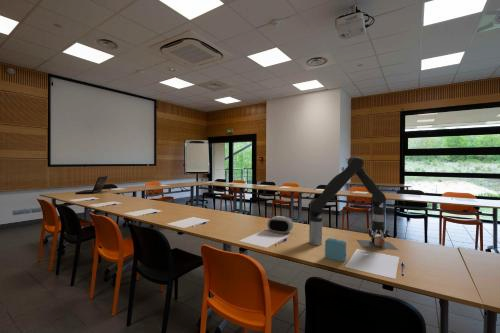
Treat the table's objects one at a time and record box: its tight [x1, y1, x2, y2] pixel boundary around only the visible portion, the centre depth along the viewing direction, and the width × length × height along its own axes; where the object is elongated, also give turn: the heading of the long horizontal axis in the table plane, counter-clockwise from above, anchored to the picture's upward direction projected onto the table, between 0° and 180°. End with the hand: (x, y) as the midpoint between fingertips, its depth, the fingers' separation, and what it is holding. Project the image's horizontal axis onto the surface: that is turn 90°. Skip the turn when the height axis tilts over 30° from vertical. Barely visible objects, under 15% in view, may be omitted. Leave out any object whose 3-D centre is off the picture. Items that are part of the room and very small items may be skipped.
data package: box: [324, 237, 347, 263], centre depth 157 cm, size 12×4×12 cm, turn 53°
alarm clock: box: [266, 215, 294, 235], centre depth 215 cm, size 21×10×13 cm, turn 67°
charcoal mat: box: [356, 239, 399, 251], centre depth 183 cm, size 24×18×1 cm
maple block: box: [370, 232, 386, 246], centre depth 183 cm, size 5×5×14 cm
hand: (377, 242), depth 183 cm, fingers closed on maple block, 5 cm apart
